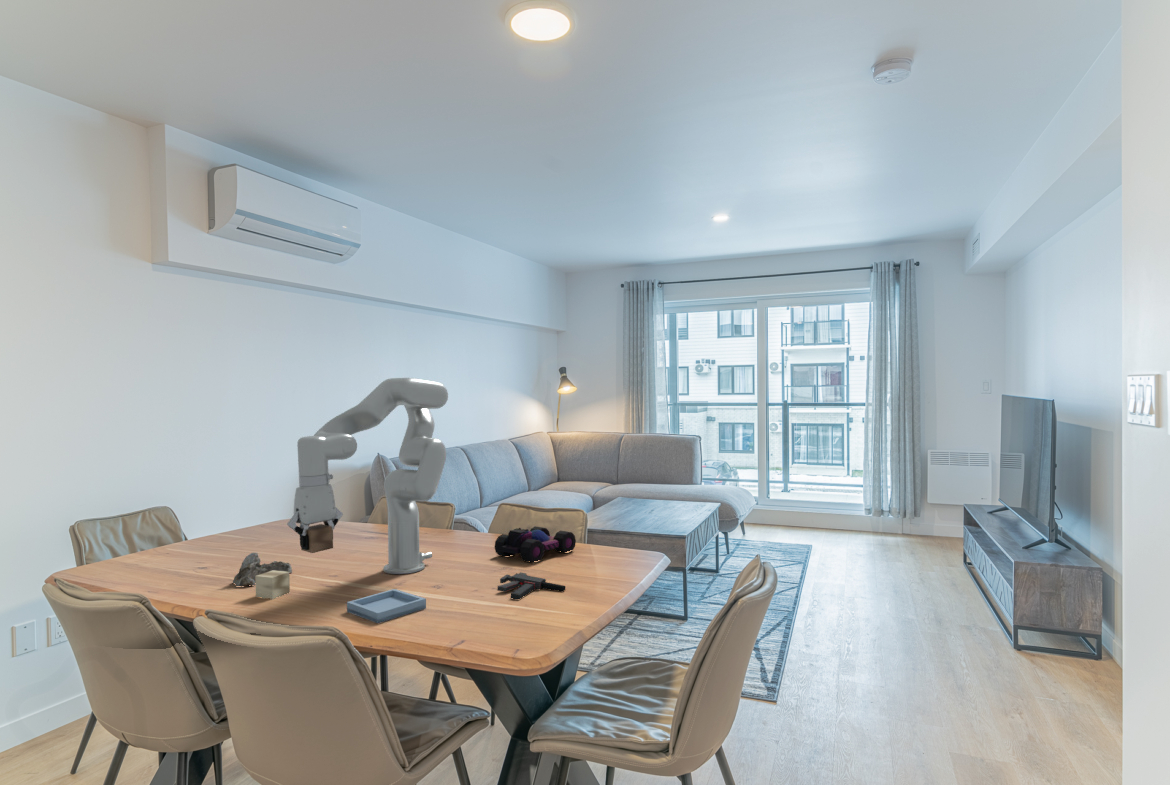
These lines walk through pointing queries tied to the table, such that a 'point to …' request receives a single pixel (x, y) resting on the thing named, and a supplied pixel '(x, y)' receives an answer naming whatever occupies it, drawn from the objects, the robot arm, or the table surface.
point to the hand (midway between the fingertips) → (317, 545)
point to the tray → (386, 605)
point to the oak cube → (272, 584)
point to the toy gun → (525, 584)
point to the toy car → (533, 543)
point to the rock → (257, 569)
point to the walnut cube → (319, 538)
